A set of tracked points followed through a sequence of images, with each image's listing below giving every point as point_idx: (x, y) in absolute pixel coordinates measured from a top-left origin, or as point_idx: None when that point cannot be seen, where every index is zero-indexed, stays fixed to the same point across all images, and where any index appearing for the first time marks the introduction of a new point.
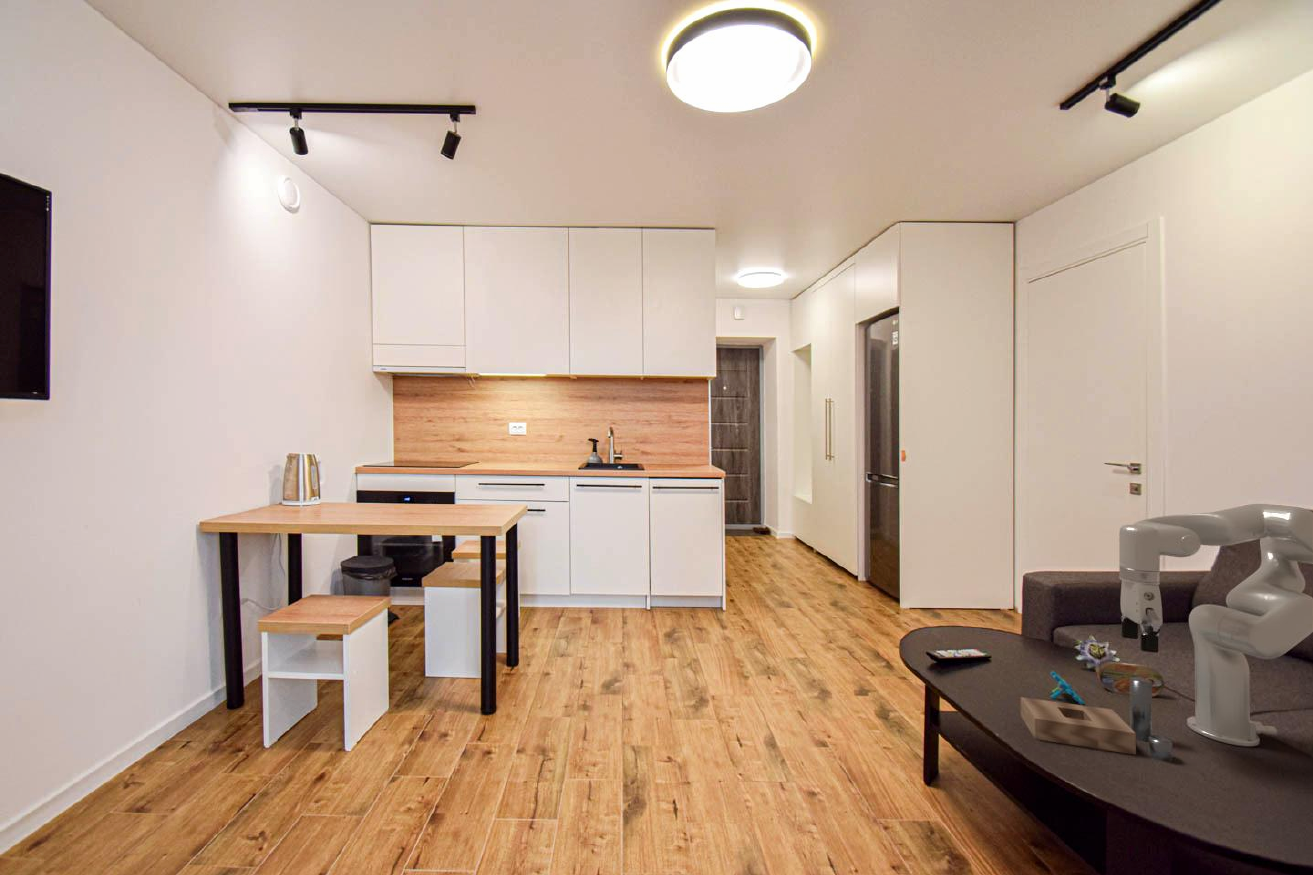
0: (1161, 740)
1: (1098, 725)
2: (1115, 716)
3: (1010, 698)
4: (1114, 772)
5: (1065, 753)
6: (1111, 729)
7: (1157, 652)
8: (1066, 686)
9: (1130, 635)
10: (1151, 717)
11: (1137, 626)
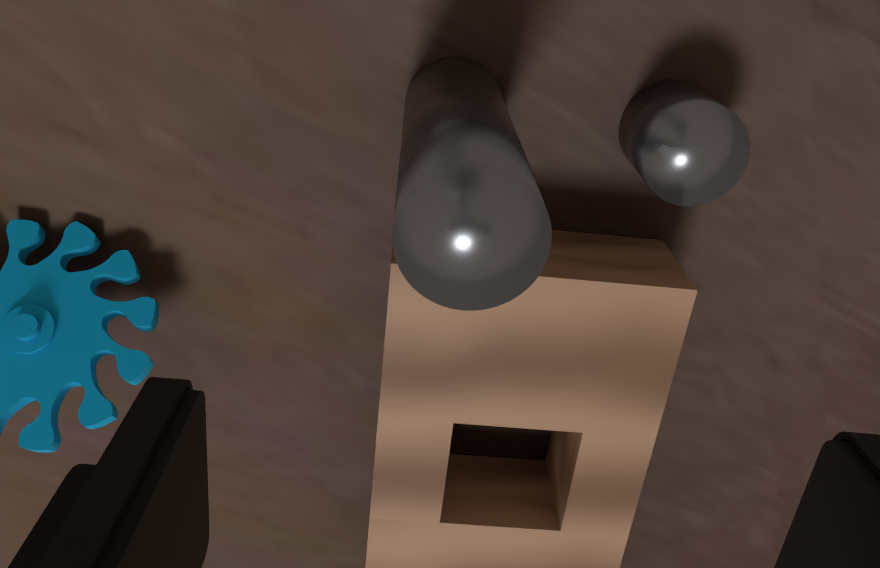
0: (707, 156)
1: (630, 426)
2: None
3: None
4: (822, 400)
5: (686, 507)
6: (667, 387)
7: (869, 434)
8: (91, 374)
9: (195, 501)
10: (496, 101)
11: (130, 561)
